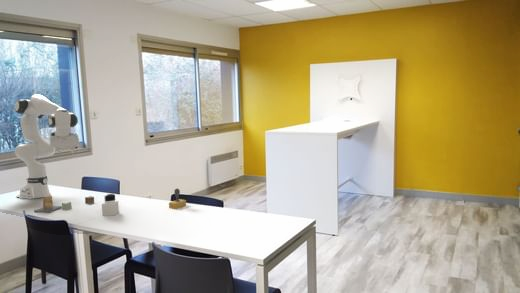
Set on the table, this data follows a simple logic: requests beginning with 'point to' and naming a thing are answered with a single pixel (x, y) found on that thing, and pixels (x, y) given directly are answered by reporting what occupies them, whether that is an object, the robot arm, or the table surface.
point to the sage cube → (66, 205)
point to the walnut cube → (89, 199)
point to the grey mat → (48, 209)
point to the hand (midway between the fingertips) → (65, 153)
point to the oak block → (47, 202)
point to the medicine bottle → (110, 205)
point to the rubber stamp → (177, 201)
